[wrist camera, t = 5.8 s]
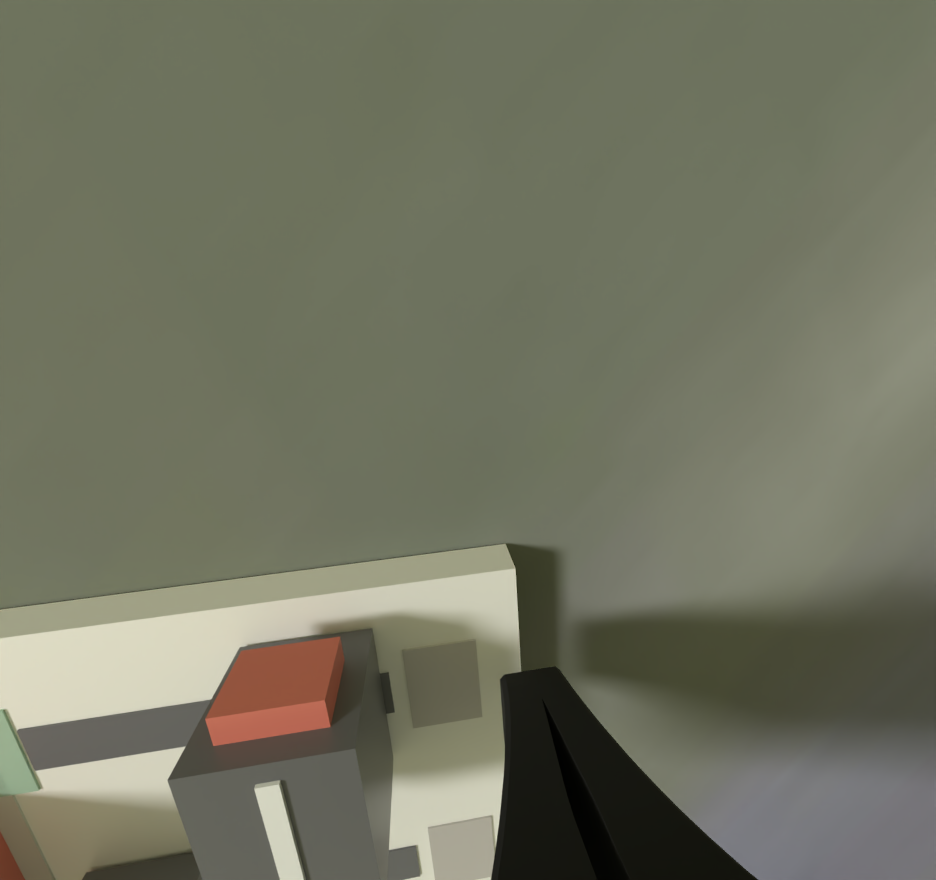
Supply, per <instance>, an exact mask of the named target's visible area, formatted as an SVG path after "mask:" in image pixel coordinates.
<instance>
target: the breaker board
mask: <svg viewBox="0 0 936 880" xmlns="http://www.w3.org/2000/svg"><path fill="white" fill-rule="evenodd" d="M370 628H372V629H373V635H374V641H375V647H376V654H377V660H378V666H379V672H380V678H381V684H382V690H383V697H384V703H385V709H386V715H387V721H388V727H389V733H390V739H391V746H392V752H393V758H394V759H393V779H392V798H391V818H390V837H389V857H388V876H387V880H491V876H492V869H493V863H494V856H495V850H496V842H497V835H498V827H499V819H500V809H501V798H502V788H503V777H504V760H505V742H504V731H503V717H502V704H501V690H500V679H501V677H502V676H503V675H504V674H511V673H517V672H521V658H520V640H519V622H518V604H517V586H516V568H515V566H514V563H513V561H512V559H511V556H510V554H509V551H508V549H507V546H506V544H500V545H493V546H485V547H477V548H470V549H462V550H454V551H447V552H439V553H431V554H423V555H416V556H408V557H400V558H393V559H385V560H377V561H370V562H362V563H354V564H347V565H339V566H331V567H324V568H316V569H308V570H301V571H293V572H285V573H277V574H270V575H262V576H254V577H247V578H239V579H231V580H224V581H216V582H208V583H201V584H193V585H185V586H178V587H170V588H162V589H154V590H147V591H139V592H131V593H124V594H116V595H108V596H101V597H93V598H85V599H78V600H70V601H62V602H55V603H47V604H39V605H31V606H24V607H16V608H8V609H1V610H0V832H1V834H2V836H3V838H4V840H5V841H6V843H7V845H8V847H9V849H10V851H11V853H12V855H13V857H14V859H15V861H16V863H17V865H18V867H19V869H20V871H21V873H22V875H23V876H24V878H25V880H82V879H83V877H84V875H85V874H86V872H91V871H96V870H102V869H107V868H113V867H118V866H123V865H129V864H134V863H140V862H145V861H151V860H156V859H162V858H167V857H172V856H178V855H183V854H189V853H193V852H192V849H191V846H190V843H189V840H188V837H187V835H186V832H185V829H184V826H183V823H182V820H181V818H180V815H179V812H178V809H177V806H176V803H175V801H174V798H173V795H172V792H171V789H170V787H169V784H168V781H167V780H168V778H169V776H170V774H171V773H172V771H173V769H174V767H175V765H176V763H177V762H178V760H179V758H180V756H181V754H182V752H183V751H184V749H185V747H186V745H187V743H188V741H189V740H190V738H191V736H192V734H193V732H194V730H195V728H196V727H197V725H198V723H199V721H200V719H201V717H202V716H203V714H204V712H205V710H206V708H207V706H208V705H209V703H210V701H211V699H212V697H213V695H214V694H215V692H216V690H217V688H218V686H219V684H220V682H221V681H222V679H223V677H224V675H225V673H226V671H227V670H228V668H229V666H230V664H231V662H232V660H233V659H234V657H235V655H236V653H237V651H238V649H239V648H240V647H245V646H252V645H259V644H266V643H273V642H280V641H287V640H294V639H300V638H307V637H314V636H321V635H328V634H335V633H342V632H349V631H356V630H363V629H370Z"/></svg>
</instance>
